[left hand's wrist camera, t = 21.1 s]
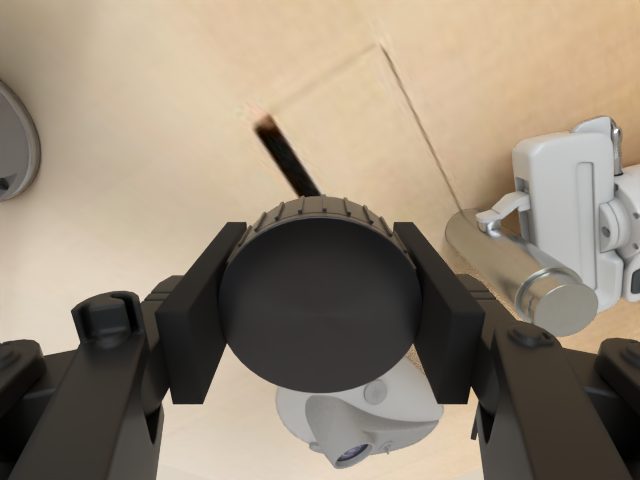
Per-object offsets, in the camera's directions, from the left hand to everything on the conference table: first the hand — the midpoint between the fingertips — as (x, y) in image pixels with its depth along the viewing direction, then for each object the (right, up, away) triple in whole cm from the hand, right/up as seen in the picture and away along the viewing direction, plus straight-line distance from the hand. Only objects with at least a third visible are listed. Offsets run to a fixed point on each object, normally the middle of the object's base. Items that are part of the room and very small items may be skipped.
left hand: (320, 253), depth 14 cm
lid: (0, -2, -4) cm, 4 cm away
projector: (+7, -19, +36) cm, 41 cm away
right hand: (+17, -1, +22) cm, 28 cm away
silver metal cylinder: (+18, +2, +28) cm, 33 cm away
